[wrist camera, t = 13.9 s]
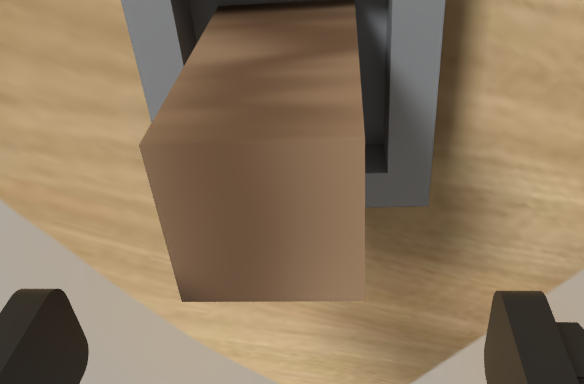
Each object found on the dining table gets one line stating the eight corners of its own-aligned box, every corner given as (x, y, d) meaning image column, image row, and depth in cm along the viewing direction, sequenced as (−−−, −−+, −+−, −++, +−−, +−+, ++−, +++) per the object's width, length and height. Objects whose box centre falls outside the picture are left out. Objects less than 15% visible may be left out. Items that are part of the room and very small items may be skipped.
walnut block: (354, -2, 18) (365, 137, 11) (355, 121, 21) (365, 301, 13) (218, 6, 18) (138, 145, 11) (236, 125, 21) (181, 301, 14)
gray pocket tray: (438, -96, 17) (452, -81, 15) (420, 168, 22) (428, 206, 20) (133, -74, 18) (106, -57, 16) (188, 174, 23) (173, 210, 21)
